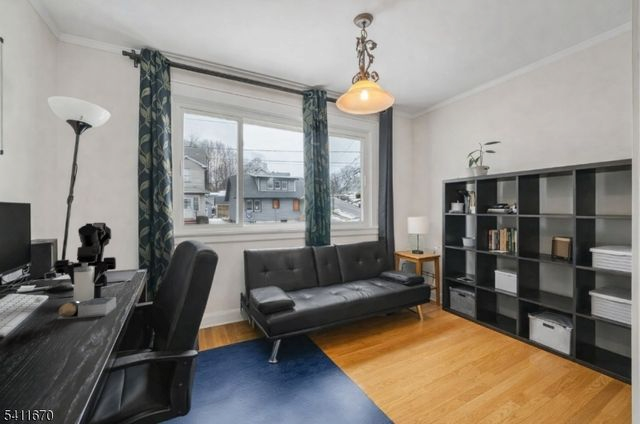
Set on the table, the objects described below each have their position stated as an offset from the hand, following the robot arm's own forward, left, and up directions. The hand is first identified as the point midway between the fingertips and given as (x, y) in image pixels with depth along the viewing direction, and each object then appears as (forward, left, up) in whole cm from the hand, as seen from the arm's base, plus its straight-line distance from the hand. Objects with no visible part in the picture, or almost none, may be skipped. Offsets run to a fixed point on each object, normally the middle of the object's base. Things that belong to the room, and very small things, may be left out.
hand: (83, 283), depth 104 cm
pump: (-1, 0, -7) cm, 7 cm away
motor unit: (-5, -1, -13) cm, 14 cm away
